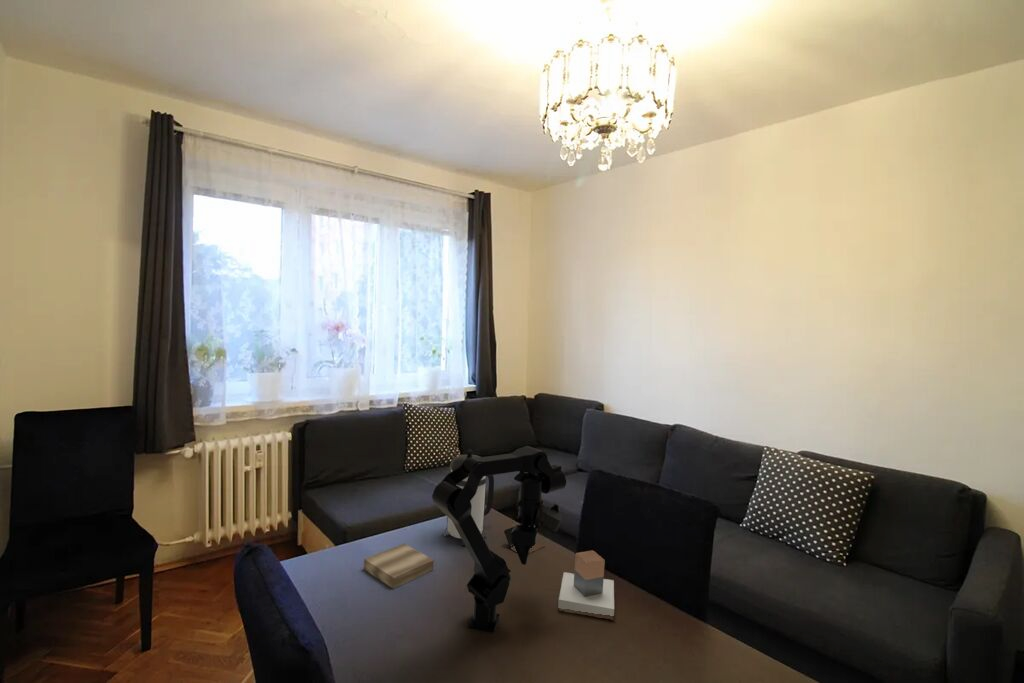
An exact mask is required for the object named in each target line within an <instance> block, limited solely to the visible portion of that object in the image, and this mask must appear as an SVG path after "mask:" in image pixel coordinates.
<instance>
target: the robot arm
mask: <svg viewBox="0 0 1024 683" xmlns="http://www.w3.org/2000/svg"><path fill="white" fill-rule="evenodd" d="M515 472H518V473H517V474H516V475H515V476H514V478H513V480H514V481H516V482H518V483H520V486H519V499H518V501H517V507H518V515H517V517H516V522H517V523H520V524H522V525H520V524H516V525H515V526H513V527H514V528H513V529H512V532H511V535H510V541H511V542H512V543H513V544H514V546H515V549H516V551H517V553H518V554H517V553H516V554H517V555H518V558H519V561H520V563H521V565H524V566H525V565H527V561H528V558H529V555H530V554H529V550H530V548H532V546H534V545H535V544H536V541H538V532H539V531H538V529H539V528H540V527H541V526H542V525H543V526H545V527H547V528H549V529H550V530H551V531H553V532H558V529H559V527H560V525H561V522H562V521H563V513H562V511H561V510H560V505H559V504H556V503H552V504H551V505H550V506H549V505H544V499H543V498H542V494H544V495H547V494H550V493H555V492H559V491H562V490H564V489H565V487H566V485H567V479H566V476H565V473H564V472H563V471H562V466H561V465H559V464H553V465H551V464H550V461H549V460H548V455H547V453H546V451H543V450H540V449H538V448H535V447H532V446H528V445H526V446H525V445H524V446H522V447H520V448H517V449H516V450H514V451H513V452H511V453H504V454H498V455H497V454H495V455H490V456H488V455H487V456H480V457H479V458H472V457H471V458H467V459H466V460H465V461H464V462H463V463H462V464H461V465H460V466H459V467H458V468H456V469H455V470H453V471H452V472H451V471H450V472H448V474H446V475H445V477H444V478H443V479H442V480H441V482H439V483H438V484H437V485H436V486H435V488H434V490H433V493H432V494H431V498H432V500H433V503H434V504H435V505H436V506H437V508H438V509H440V511H441V512H442V513H443V514H445V516H446V517H447V516H448V517H449V518H450V519H451V520H452V522H453V524H454V526H455V527H456V529H457V531H458V533H459V535H460V537H461V538H462V539H461V541H462V540H463V542H464V544H465V546H464V547H466V549H467V551H468V553H469V555H470V556H471V558H472V560H473V563H474V565H473V571H474V574H473V575H472V577H471V578H470V580H469V581H468V582H467V584H466V588H467V591H468V592H469V593H470V594H472V595H473V609H472V615H471V617H470V620H469V622H468V624H467V626H468V628H471V629H476V630H481V631H487V632H495V630H496V628H497V625H498V623H499V620H500V617H501V614H500V613H497V608H498V605H501V604H502V603H504V602H505V598H506V596H507V593H508V589H509V586H510V581H512V580H511V575H510V573H511V570H510V569H509V568H508V564H507V562H506V560H505V559H504V558H503V557H502V556H499V555H498V554H497V553H496V552H494V551H493V550H491V549H490V548H489V546H488V544H487V542H486V541H485V538H483V536H484V535H483V534H482V533H480V531H479V529H478V527H477V525H476V523H475V521H474V519H473V517H472V515H471V508H472V505H471V502H470V501H471V499H472V498H473V497H474V496H475V494H476V492H477V488H478V485H479V482H480V480H481V479H482V478H483V477H484V476H490V475H493V476H496V475H503V474H508V473H515ZM468 476H469V477H468ZM467 477H468V480H467V483H466V485H465V486H464V487H463V489H462V488H460V487H458V486H457V485H456V484H458V483H459V482H461V481H462V480H464V479H465V478H467ZM481 534H482V535H483V536H482V535H481Z"/></svg>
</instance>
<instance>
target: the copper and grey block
mask: <svg viewBox="0 0 1024 683" xmlns="http://www.w3.org/2000/svg"><path fill="white" fill-rule="evenodd" d="M574 555H575V558H574V571H573V574H574V587H575V588H576V589H577V590H578V591H579V592H580V593H581V594H582V595H583V596H584V597H587V596H592V595H597V594H602V593H603V579H605V578H604V577H605V564H606V562H605V561H606V560H605V559H604V558H603V557H602V556H601V555H599V554H598V553H597V552H596V551H594V550H593V549H592V550H586V551H580V552H576V553H575V554H574Z"/></svg>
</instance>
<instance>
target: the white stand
mask: <svg viewBox="0 0 1024 683" xmlns="http://www.w3.org/2000/svg"><path fill="white" fill-rule="evenodd" d="M614 581H615V580H614V579H609V578H604V579H603V593H602V594H597V595H592V596H587V597H584V596H583V595H582V594H581V593H580V592H579V591H578V590H577V589H576V588H575V587H574V573H571V572H565V571H564V572H563V575H562V579H561V585H560V586H561V587H560V590H559V595H558V605H557V609H558V608H561V609H570V610H574V611H581V612H588V613H594V614H602V615H610V616H614V617H615V588H614V587H615V582H614Z"/></svg>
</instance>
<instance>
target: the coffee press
mask: <svg viewBox="0 0 1024 683" xmlns="http://www.w3.org/2000/svg"><path fill="white" fill-rule="evenodd" d="M465 453H466V454H460V455H458V456H455V457H454V458H453V459H452V460H451V461H450V464H449V468H450V472H452V471H453V470H455V469H456V468H458V467H459V466H460V465H461V464H462V463H463V462H464V461H465V460H466V459H467V458H471V457H472V458H479V457H481V456H479V455H477V454H476V455H475V454H474V451H473V450H472V449H470V448H469V449H467V450H466V452H465ZM468 477H469V476H468ZM468 477H467V478H465V479H464V480H462V481H461V482H459V483H458V484H456V485H457V486H458V487H460V488H462V489H463V487H464V486H465V485H466V483H467V480H468ZM494 478H495V477H494V475H490V476H484V477H483V478H482V479H481V480H480V482H479V485H478V488H477V492H476V494H475V496H474V497H473V498H472V499H471V501H470V502H471V505H472V508H471V515H472V517H473V519H474V521H475V523H476V525H477V527H478V529H479V531H480V533H481V535H483V534H482V533H483V532H484V534H485V536H488V535H487V532H486V529H484V528H485V516H487V515H488V514H489V513H490V512H491V510H492V507H493V505H494V504H493V503H494V492H495V479H494ZM487 479H488V488H486V486H487ZM487 489H488V490H487ZM486 491H488V492H486ZM486 493H487V503H486ZM485 503H486V504H487V505H486V504H485ZM446 518H447V520H446V528H445V529H444V530H443V532H442V536H443V537H444V534H445V533H446V531H447V536H446V537H448V536H449V535H450V536H452V537H454V538H455V539H456V538H457V539H460V540H461V546H462V545H465V544H464V542H463V540H462V538H461V537H460V535H459V533H458V531H457V529H456V527H455V526H454V524H453V522H452V520H451V519H450V518H449V517H448V516H447V515H446Z"/></svg>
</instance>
